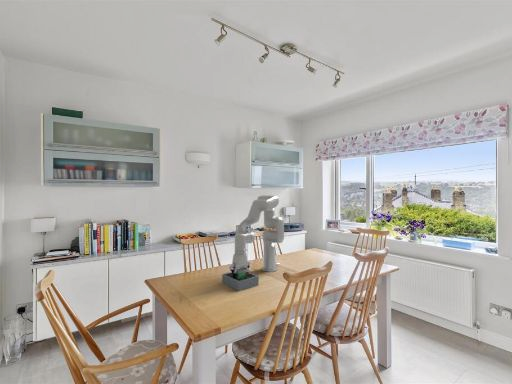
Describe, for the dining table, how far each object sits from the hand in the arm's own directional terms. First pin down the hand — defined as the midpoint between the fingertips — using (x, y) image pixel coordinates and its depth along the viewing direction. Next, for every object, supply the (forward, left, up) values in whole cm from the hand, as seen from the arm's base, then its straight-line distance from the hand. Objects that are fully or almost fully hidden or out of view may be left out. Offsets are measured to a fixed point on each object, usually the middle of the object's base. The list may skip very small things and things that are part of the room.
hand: (240, 277), depth 184 cm
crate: (0, 0, -5) cm, 5 cm away
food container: (+1, 0, -4) cm, 4 cm away
